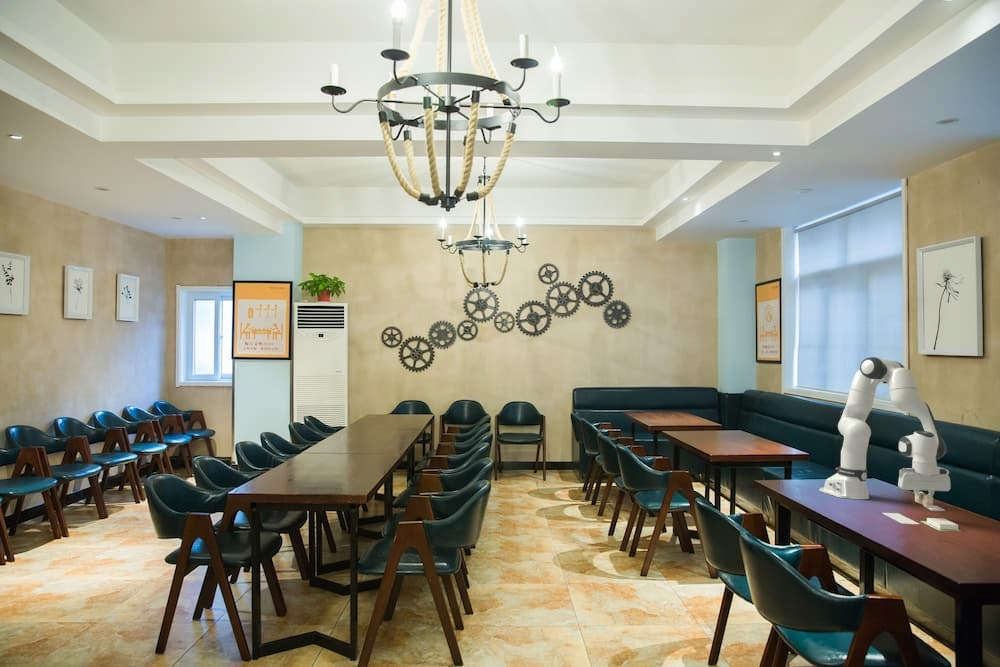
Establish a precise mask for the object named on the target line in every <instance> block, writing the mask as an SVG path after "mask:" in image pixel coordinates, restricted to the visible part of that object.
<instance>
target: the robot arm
mask: <svg viewBox="0 0 1000 667" xmlns="http://www.w3.org/2000/svg"><path fill="white" fill-rule="evenodd" d="M881 383H882V384H887V386H888V392H889V398H890V400H891V404H892V405H893V406H894V407H896V408H897V409H899V410H901V411H903V412H907V413H908V414H911V415H913V416H915V417H917V418H918V419H919V420H920V422H921V425H922V428H923V430H916V431H914V432H913V434H910V435H905V436H902V437H900V438H899V440H898V444H897V449H898V452H899V453H900V454H901V455H902V456H903V457H908V458H912V461H911V462H912V463H911V464H912V465H911V467H908V468H907V467H903V468H901V469H900V470H899V471H898V474H899V476H898V481H897V482H898V483H897V486H898V488H900V489H902V490H905V491H906V490H907V491H913V493H914V496H915V495H916V499H917V500H922V496H920V495H919V492H920V491H928V492H927V494H928V495H930V496H932V497H934V494H935V492H949V491H950V490H951V486H952V485H951V478H950V475H949V474H950V470H948V469H946V468H944V467H941V466H938V465H937V460H940V459H941V458H943V457H944V456H945V455H946V453H947V450H948V449H947V445H946V443H945V441H944V438H942V436H941V433H940V431H939V427H938V426H937V423H936V420H935V418H934V415H933V413H932V411H931V408H930V406H929V404H928V403H927V402H926V401H924V399H922V398H921V397H920V394H919V392H918V387H917V384H916V380H915V378H914V375H913V372H912V371H911V370H910V369H909V368H906V367H905V366H904V365H903V364H902V363H901V362H898V361H896V360H891V359H888V358H881V357H876V356H875V357H873V356H870V357H866V358H864V359H863V360H862V361H861V362H860V366H859V369H858V370H857V371H856V372H855V374H854V376H853V378H852V380H851V384H850V386H849V387H850V388H849V391H848V396H847V401H846V405H845V406H844V409H843V412H842V415H841V416H840V419H839V421H838V424H837V429H838V432H839V433H840V435H841V436H843V442H842V447H841V450H840V465H839V466H837V467H835V469H834V470H837V471H836V473H834V474H833V475H832V476H830V477H828V478H826V480H825V482H824V485H823V487H819V490H818V491H819V492H822V493H824V494H828V495H832V496H834V497H837V498H840V499H852V500H869V499H870V496H869V492H868V487H867V477H868V469H867V452H868V447H869V442H870V437H871V435H872V430H871V428H870V426H869V425H868V423H867V422H866V420H867V419H868V416H869V414H870V413H871V411H872V409H873V405H874V402H875V401H874V400H875V395H876V391H877V386H878V385H879V384H881Z"/></svg>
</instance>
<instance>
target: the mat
mask: <svg viewBox="0 0 1000 667" xmlns="http://www.w3.org/2000/svg"><path fill="white" fill-rule="evenodd" d="M920 522H921V523H923V524H925V525H927V526H929V527H931V528H933V529H935V530H937V531H942V532H943V531H944V532H947V531H948V532H961V530H960V529H958V530H945V529H939V528H937V527H935V526H933V525H931V524H929V523H927V520H925V521H924V520H920Z"/></svg>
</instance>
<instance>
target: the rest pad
mask: <svg viewBox="0 0 1000 667" xmlns="http://www.w3.org/2000/svg"><path fill="white" fill-rule="evenodd" d="M882 514H883V515H885V516H886V517H888V518H890V519H892V520H894V521H896V522H898V523H900V524H901V525H920V524H921V523H919V522H916V521H915V520H913V519H911V518H909V517H907V516H904V515H902V514H901V513H897V512H895V513H894V512H882Z"/></svg>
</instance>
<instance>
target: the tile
mask: <svg viewBox="0 0 1000 667" xmlns="http://www.w3.org/2000/svg"><path fill="white" fill-rule="evenodd" d="M926 521H927V523H929V524H931V525H933V526H935V527H937V528H939V529H945V530H959V525H958V524H957V523H955V522H953V521H950V520H948V519H946V518H938V517H936V518H935V517H926Z"/></svg>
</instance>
